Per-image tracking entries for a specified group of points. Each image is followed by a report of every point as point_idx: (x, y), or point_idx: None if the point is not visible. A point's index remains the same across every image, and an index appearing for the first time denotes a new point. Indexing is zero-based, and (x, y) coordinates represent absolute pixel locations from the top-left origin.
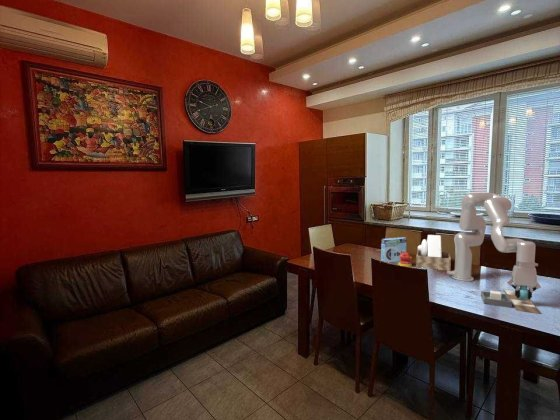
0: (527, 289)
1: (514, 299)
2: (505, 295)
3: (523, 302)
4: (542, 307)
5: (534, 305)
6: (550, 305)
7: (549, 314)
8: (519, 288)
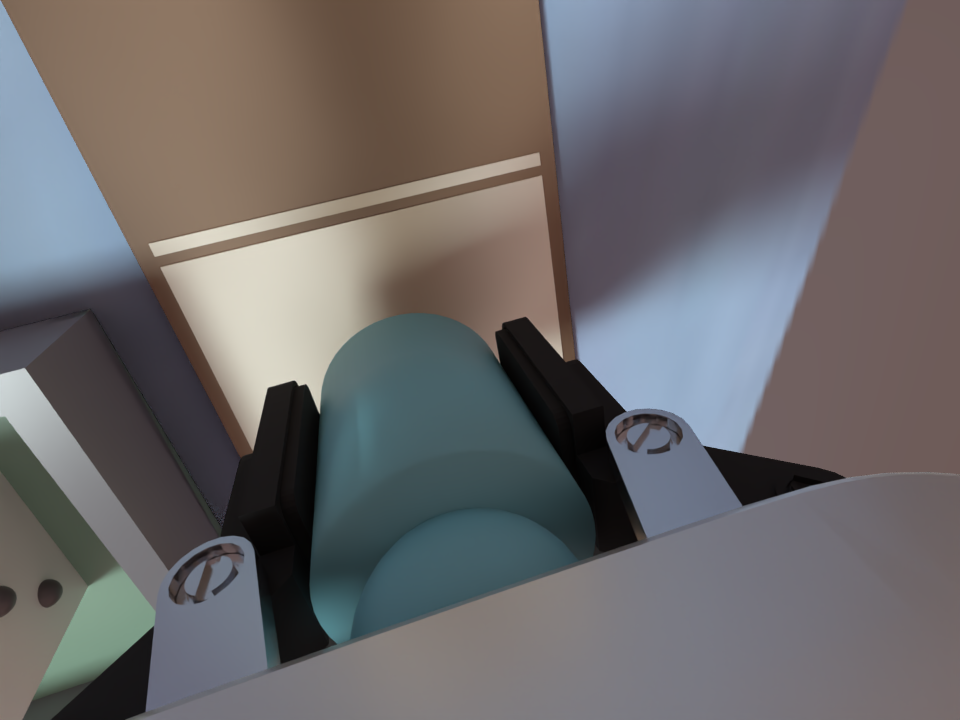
0: (570, 515)
1: (237, 227)
2: (34, 435)
3: (411, 311)
4: (656, 331)
5: (565, 340)
6: (801, 135)
7: None
8: (337, 581)
